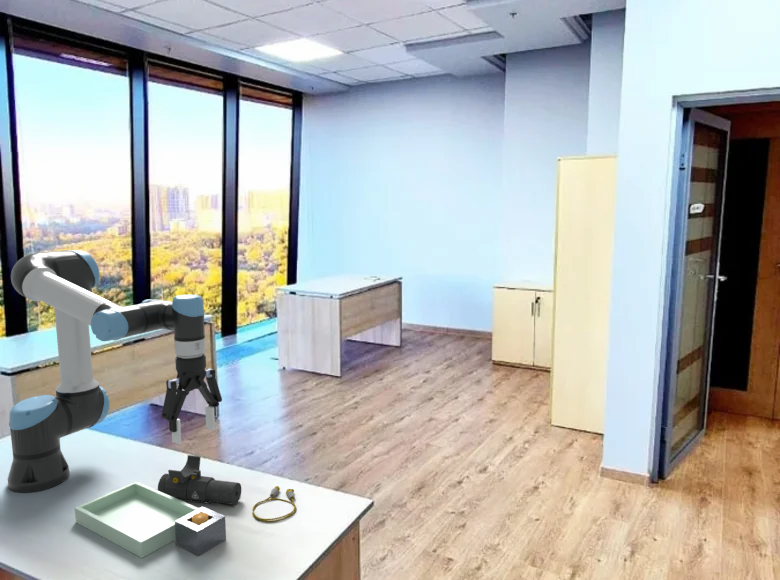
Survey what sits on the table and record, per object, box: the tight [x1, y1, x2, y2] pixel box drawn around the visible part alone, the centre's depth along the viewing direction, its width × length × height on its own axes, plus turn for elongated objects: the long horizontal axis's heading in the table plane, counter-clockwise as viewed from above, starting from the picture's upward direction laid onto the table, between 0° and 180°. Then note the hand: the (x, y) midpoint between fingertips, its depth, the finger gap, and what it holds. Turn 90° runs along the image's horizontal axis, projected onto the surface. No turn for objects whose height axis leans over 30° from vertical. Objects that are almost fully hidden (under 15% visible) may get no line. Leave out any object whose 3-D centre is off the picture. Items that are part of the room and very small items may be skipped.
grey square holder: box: [175, 506, 227, 557], centre depth 139 cm, size 8×8×6 cm
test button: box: [192, 513, 208, 526], centre depth 139 cm, size 4×4×5 cm
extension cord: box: [252, 485, 297, 523], centre depth 156 cm, size 12×16×2 cm
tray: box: [74, 481, 200, 559], centre depth 147 cm, size 27×17×4 cm, turn 57°
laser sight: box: [157, 454, 242, 506], centre depth 159 cm, size 10×22×10 cm, turn 77°
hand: (194, 435), depth 157 cm, fingers open, 10 cm apart
